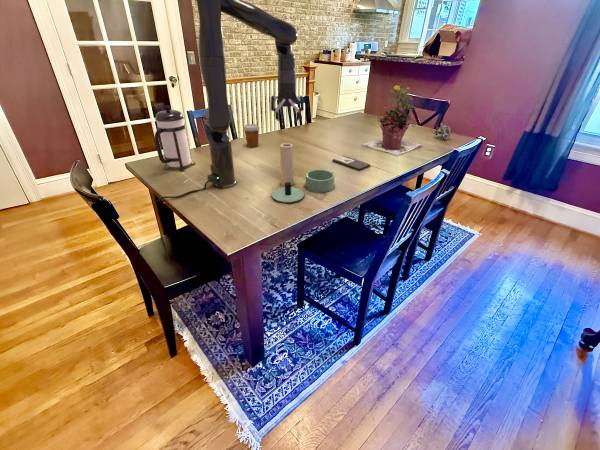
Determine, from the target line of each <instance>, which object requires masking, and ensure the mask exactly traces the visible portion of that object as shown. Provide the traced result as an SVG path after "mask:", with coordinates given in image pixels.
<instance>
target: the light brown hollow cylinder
mask: <svg viewBox="0 0 600 450" xmlns="http://www.w3.org/2000/svg"><path fill="white" fill-rule="evenodd" d="M279 151H280V154H279V155H280V181H281V186H283V187H285V183H286V182H290V183H291V187H293V185H294V144H293V143H287V142H285V143H281V144H280V145H279Z"/></svg>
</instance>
